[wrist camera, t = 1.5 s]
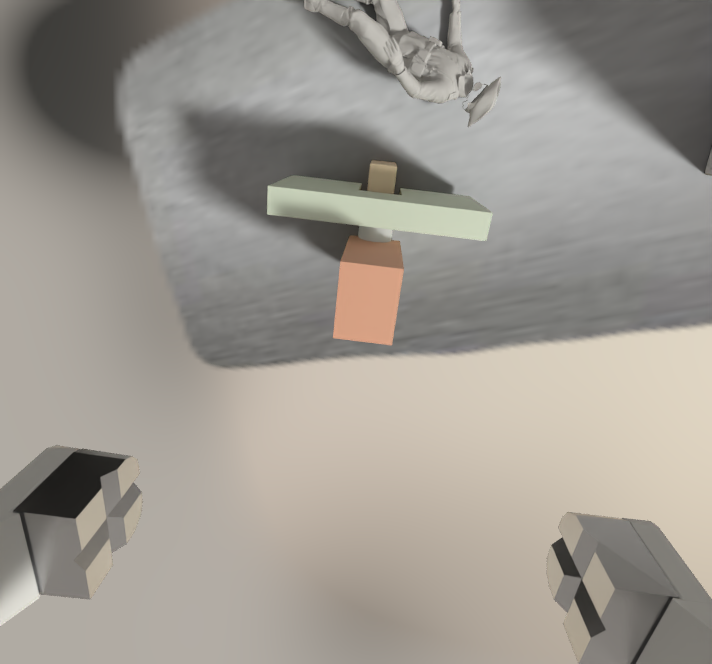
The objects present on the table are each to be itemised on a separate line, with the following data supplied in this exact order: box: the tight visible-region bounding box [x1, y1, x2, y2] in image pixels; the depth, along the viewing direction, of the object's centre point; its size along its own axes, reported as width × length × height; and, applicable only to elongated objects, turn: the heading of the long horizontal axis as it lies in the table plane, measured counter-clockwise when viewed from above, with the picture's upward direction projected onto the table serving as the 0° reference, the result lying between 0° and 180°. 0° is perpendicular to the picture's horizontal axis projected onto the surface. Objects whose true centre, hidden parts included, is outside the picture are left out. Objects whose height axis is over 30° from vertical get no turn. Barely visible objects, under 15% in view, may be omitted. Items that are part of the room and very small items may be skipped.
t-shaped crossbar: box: [267, 175, 493, 345], centre depth 26 cm, size 6×12×11 cm, turn 84°
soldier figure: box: [304, 0, 501, 127], centre depth 26 cm, size 8×5×12 cm
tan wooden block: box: [367, 160, 397, 194], centre depth 30 cm, size 8×2×5 cm, turn 174°
